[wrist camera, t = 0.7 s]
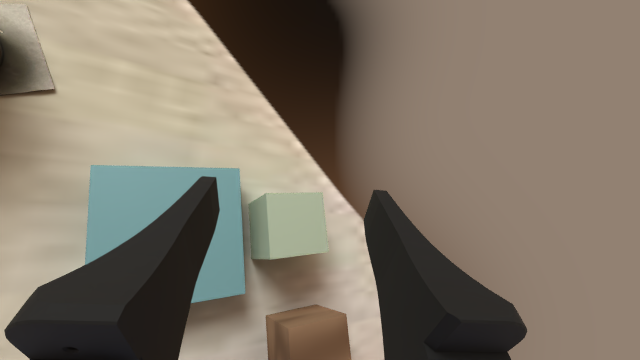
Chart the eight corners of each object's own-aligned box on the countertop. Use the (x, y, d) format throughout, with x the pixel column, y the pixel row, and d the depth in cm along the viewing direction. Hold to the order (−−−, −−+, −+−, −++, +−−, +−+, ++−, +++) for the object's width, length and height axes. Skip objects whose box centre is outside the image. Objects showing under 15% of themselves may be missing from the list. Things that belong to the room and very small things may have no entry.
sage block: (301, 252, 29) (328, 252, 24) (251, 259, 27) (270, 259, 22) (297, 202, 30) (322, 192, 25) (248, 204, 28) (265, 193, 23)
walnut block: (320, 361, 27) (353, 383, 23) (269, 378, 25) (293, 406, 20) (315, 304, 28) (346, 314, 24) (265, 315, 26) (288, 328, 21)
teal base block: (235, 289, 26) (245, 293, 23) (93, 312, 21) (81, 322, 18) (231, 178, 28) (239, 168, 25) (100, 177, 23) (90, 165, 20)
